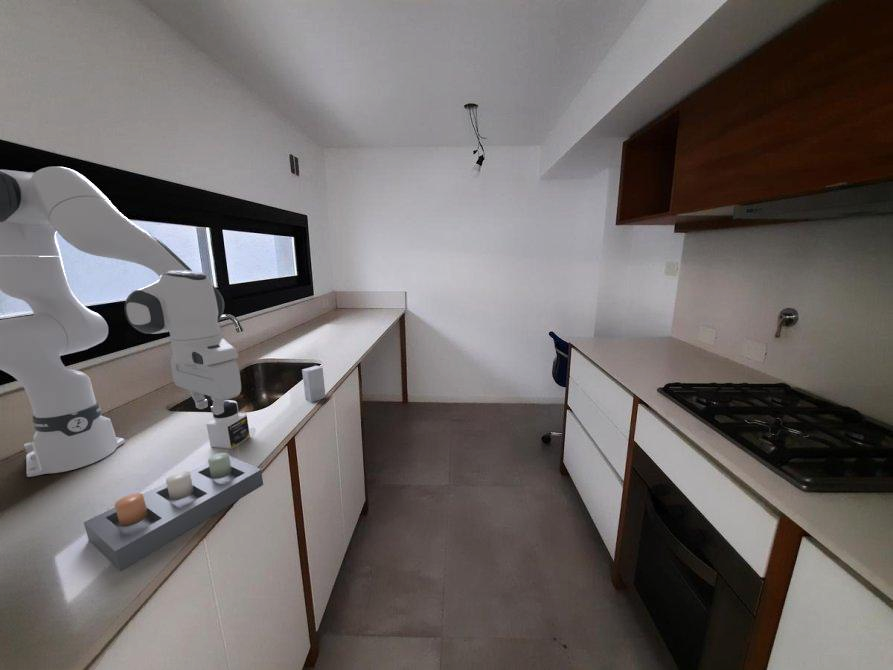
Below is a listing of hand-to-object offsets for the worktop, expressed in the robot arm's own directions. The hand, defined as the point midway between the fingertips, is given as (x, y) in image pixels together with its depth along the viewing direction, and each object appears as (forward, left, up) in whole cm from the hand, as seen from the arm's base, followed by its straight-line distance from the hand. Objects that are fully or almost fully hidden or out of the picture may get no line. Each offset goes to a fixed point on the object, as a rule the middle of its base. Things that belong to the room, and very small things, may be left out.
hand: (210, 410), depth 77 cm
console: (0, -8, -19) cm, 21 cm away
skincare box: (-23, +46, -19) cm, 55 cm away
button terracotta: (0, -16, -15) cm, 22 cm away
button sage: (0, 0, -15) cm, 15 cm away
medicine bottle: (-20, +13, -19) cm, 31 cm away
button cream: (0, -8, -15) cm, 17 cm away
